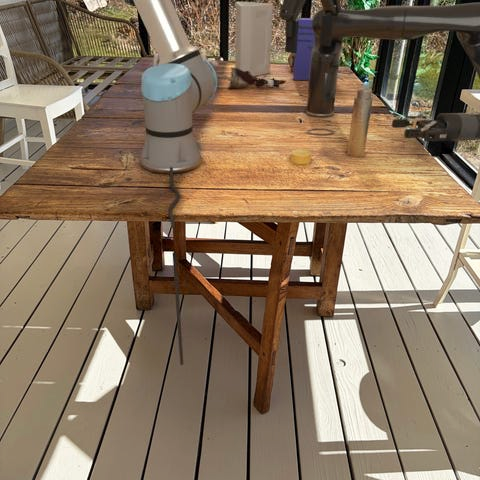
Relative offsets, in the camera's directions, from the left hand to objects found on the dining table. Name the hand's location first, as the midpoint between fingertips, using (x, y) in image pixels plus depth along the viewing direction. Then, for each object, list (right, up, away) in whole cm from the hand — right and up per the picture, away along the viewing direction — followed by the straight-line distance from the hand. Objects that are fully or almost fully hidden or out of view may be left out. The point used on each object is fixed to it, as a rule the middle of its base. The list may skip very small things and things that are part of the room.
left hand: (308, 49), depth 112 cm
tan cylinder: (+16, -21, +19) cm, 32 cm away
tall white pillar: (-10, +32, +106) cm, 111 cm away
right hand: (+27, -15, +17) cm, 35 cm away
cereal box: (+16, +25, +95) cm, 100 cm away
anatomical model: (+10, +35, +112) cm, 118 cm away
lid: (0, -22, +13) cm, 26 cm away
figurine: (-13, +16, +80) cm, 83 cm away
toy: (-41, +37, +113) cm, 126 cm away
